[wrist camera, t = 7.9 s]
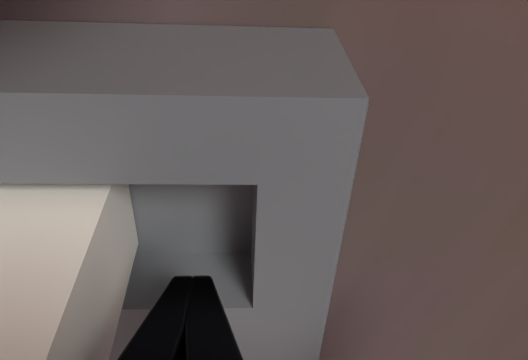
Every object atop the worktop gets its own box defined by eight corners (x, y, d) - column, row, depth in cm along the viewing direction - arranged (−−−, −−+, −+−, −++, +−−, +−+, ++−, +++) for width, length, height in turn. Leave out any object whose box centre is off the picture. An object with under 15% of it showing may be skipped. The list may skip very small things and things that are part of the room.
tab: (122, 153, 11) (33, 391, 6) (138, 242, 13) (77, 482, 8) (-48, 152, 11) (-278, 398, 6) (-9, 243, 13) (-162, 490, 8)
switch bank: (333, 28, 12) (377, 114, 8) (285, 397, 22) (294, 508, 19) (-435, 8, 11) (-802, 96, 7) (-100, 406, 21) (-171, 525, 17)
